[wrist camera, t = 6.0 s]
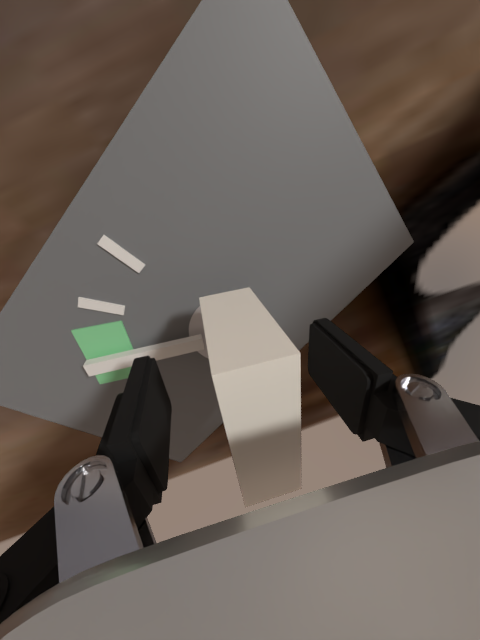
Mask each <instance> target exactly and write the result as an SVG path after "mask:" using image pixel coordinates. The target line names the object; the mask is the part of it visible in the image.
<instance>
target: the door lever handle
mask: <svg viewBox="0 0 480 640" xmlns="http://www.w3.org/2000/svg"><path fill="white" fill-rule="evenodd" d="M199 300H200V307H201V313H202V319H203V325H204V332H205V338H206V344H207V350H208V356H209V363H210V369H211V375H212V379H213V383H214V387H215V391H216V395H217V399H218V403H219V407H220V411H221V414H222V418H223V422H224V426H225V430H226V434H227V438H228V442H229V446H230V450H231V454H232V458H233V461H234V465H235V469H236V473H237V477H238V481H239V485H240V489H241V493H242V497H243V501H244V505H245V507H248V506H251V505H254V504H257V503H260V502H263V501H266V500H269V499H272V498H275V497H278V496H281V495H284V494H287V493H290V492H293V491H296V490H299V489H301V488H302V487H301V355H300V352H299V351H298V349H297V348H296V347H295V345H294V344H293V343H292V342H291V340H290V339H289V338H288V336H287V335H286V334H285V333H284V331H283V330H282V329H281V327H280V326H279V325H278V323H277V322H276V321H275V320H274V318H273V317H272V316H271V314H270V313H269V312H268V311H267V309H266V308H265V307H264V305H263V304H262V303H261V302H260V300H259V299H258V298H257V296H256V295H255V294H254V293H253V291H252V290H251V289H250V287H248V288H243V289H238V290H233V291H228V292H224V293H219V294H214V295H209V296H204V297H199ZM199 350H204V343H203V339H202V335H201V334H199V335H194V336H190V337H186V338H181V339H177V340H172V341H168V342H164V343H159V344H155V345H150V346H146V347H142V348H137V349H133V350H128V351H124V352H120V353H115V354H111V355H106V356H102V357H98V358H93V359H89V360H86V362H85V363H84V365H83V367H84V369H85V371H86V372H87V374H88V376H94V375H98V374H102V373H106V372H111V371H115V370H119V369H123V368H127V367H132V364H133V361H134V359H135V358H139V357H143V356H150V358H155V360H156V361H157V360H161V359H165V358H170V357H174V356H178V355H182V354H187V353H191V352H195V351H199Z"/></svg>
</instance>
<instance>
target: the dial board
mask: <svg viewBox="0 0 480 640" xmlns="http://www.w3.org/2000/svg"><path fill="white" fill-rule="evenodd" d="M413 242H414V241H413V239H412V237H411V235H410V233H409V232H408V230H407V228H406V226H405V224H404V222H403V220H402V218H401V216H400V214H399V212H398V210H397V209H396V207H395V205H394V203H393V201H392V199H391V197H390V195H389V193H388V191H387V189H386V187H385V186H384V184H383V182H382V180H381V178H380V176H379V174H378V172H377V170H376V168H375V166H374V165H373V163H372V161H371V159H370V157H369V155H368V153H367V151H366V149H365V147H364V145H363V143H362V142H361V140H360V138H359V136H358V134H357V132H356V130H355V128H354V126H353V124H352V122H351V121H350V119H349V117H348V115H347V113H346V111H345V109H344V107H343V105H342V103H341V101H340V99H339V98H338V96H337V94H336V92H335V90H334V88H333V86H332V84H331V82H330V80H329V78H328V76H327V75H326V73H325V71H324V69H323V67H322V65H321V63H320V61H319V59H318V57H317V55H316V54H315V52H314V50H313V48H312V46H311V44H310V42H309V40H308V38H307V36H306V34H305V32H304V31H303V29H302V27H301V25H300V23H299V21H298V19H297V17H296V15H295V13H294V11H293V10H292V8H291V6H290V4H289V2H288V0H202V1H201V3H200V4H199V6H198V7H197V9H196V10H195V12H194V13H193V15H192V16H191V18H190V20H189V21H188V23H187V24H186V26H185V27H184V29H183V30H182V32H181V34H180V35H179V37H178V38H177V40H176V41H175V43H174V44H173V46H172V48H171V49H170V51H169V52H168V54H167V55H166V57H165V58H164V60H163V61H162V63H161V65H160V66H159V68H158V69H157V71H156V72H155V74H154V75H153V77H152V79H151V80H150V82H149V83H148V85H147V86H146V88H145V89H144V91H143V92H142V94H141V96H140V97H139V99H138V100H137V102H136V103H135V105H134V106H133V108H132V110H131V111H130V113H129V114H128V116H127V117H126V119H125V120H124V122H123V123H122V125H121V127H120V128H119V130H118V131H117V133H116V134H115V136H114V137H113V139H112V141H111V142H110V144H109V145H108V147H107V148H106V150H105V151H104V153H103V155H102V156H101V158H100V159H99V161H98V162H97V164H96V165H95V167H94V168H93V170H92V172H91V173H90V175H89V176H88V178H87V179H86V181H85V182H84V184H83V186H82V187H81V189H80V190H79V192H78V193H77V195H76V196H75V198H74V199H73V201H72V203H71V204H70V206H69V207H68V209H67V210H66V212H65V213H64V215H63V217H62V218H61V220H60V221H59V223H58V224H57V226H56V227H55V229H54V230H53V232H52V234H51V235H50V237H49V238H48V240H47V241H46V243H45V244H44V246H43V248H42V249H41V251H40V252H39V254H38V255H37V257H36V258H35V260H34V262H33V263H32V265H31V266H30V268H29V269H28V271H27V272H26V274H25V275H24V277H23V279H22V280H21V282H20V283H19V285H18V286H17V288H16V289H15V291H14V293H13V294H12V296H11V297H10V299H9V300H8V302H7V303H6V305H5V306H4V308H3V310H2V311H1V313H0V405H1V406H4V407H7V408H10V409H13V410H16V411H20V412H23V413H26V414H29V415H32V416H35V417H39V418H42V419H45V420H48V421H51V422H54V423H58V424H61V425H64V426H67V427H70V428H73V429H77V430H80V431H83V432H86V433H89V434H92V435H96V436H99V437H102V436H103V433H104V431H105V428H106V425H107V422H108V419H109V416H110V413H111V410H112V408H113V405H114V402H115V399H116V397H117V395H118V394H119V393H123V392H124V389H125V386H126V383H127V379H128V376H129V373H130V370H131V367H127V368H123V369H119V370H115V371H111V372H106V373H102V374H98V375H94V376H88V374H87V372H86V371H85V369H84V367H83V365H84V363H85V362H86V360H89V359H93V358H98V357H102V356H106V355H111V354H115V353H120V352H124V351H128V350H133V349H137V348H142V347H146V346H150V345H155V344H159V343H164V342H168V341H172V340H177V339H181V338H186V337H190V336H194V335H199V334H201V335H202V339H203V343H204V350H199V351H195V352H191V353H187V354H182V355H178V356H174V357H170V358H165V359H161V360H157V361H156V362H157V365H158V368H159V371H160V373H161V376H162V379H163V382H164V384H165V387H166V390H167V393H168V396H169V398H170V401H171V406H172V414H171V431H170V448H169V459H172V460H175V461H178V462H182V461H183V460H184V459H185V458H186V457H187V456H188V455H189V454H190V453H191V452H192V451H194V450H195V449H196V448H197V447H198V446H199V445H200V444H201V443H202V442H203V441H204V440H205V439H206V438H207V437H208V436H209V435H210V434H212V433H213V432H214V431H215V430H216V429H217V428H218V427H219V426H220V425H221V424H222V423H223V418H222V414H221V411H220V407H219V403H218V399H217V395H216V391H215V387H214V383H213V379H212V375H211V369H210V363H209V356H208V350H207V344H206V338H205V332H204V325H203V319H202V313H201V307H200V300H199V297H204V296H209V295H214V294H219V293H224V292H228V291H233V290H238V289H243V288H248V287H250V289H251V290H252V291H253V293H254V294H255V295H256V296H257V298H258V299H259V300H260V302H261V303H262V304H263V305H264V307H265V308H266V309H267V311H268V312H269V313H270V314H271V316H272V317H273V318H274V320H275V321H276V322H277V323H278V325H279V326H280V327H281V329H282V330H283V331H284V333H285V334H286V335H287V336H288V338H289V339H290V340H291V342H292V343H293V344H294V345H295V347H296V348H297V349H298V351H299V350H300V349H301V348H302V347H303V346H305V345H306V344H307V343H308V342H309V327H310V324H312V323H313V321H314V320H317V319H322V318H327V319H329V320H330V321H331V320H332V319H333V318H334V317H335V316H336V315H337V314H338V313H339V312H340V311H342V310H343V309H344V308H345V307H346V306H347V305H348V304H349V303H350V302H351V301H352V300H353V299H354V298H355V297H356V296H357V295H358V294H359V293H361V292H362V291H363V290H364V289H365V288H366V287H367V286H368V285H369V284H370V283H371V282H372V281H373V280H374V279H375V278H376V277H377V276H379V275H380V274H381V273H382V272H383V271H384V270H385V269H386V268H387V267H388V266H389V265H390V264H391V263H392V262H393V261H394V260H395V259H396V258H398V257H399V256H400V255H401V254H402V253H403V252H404V251H405V250H406V249H407V248H408V247H409V246H410V245H411V244H412V243H413Z"/></svg>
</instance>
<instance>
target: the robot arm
mask: <svg viewBox="0 0 480 640" xmlns="http://www.w3.org/2000/svg"><path fill="white" fill-rule="evenodd" d="M308 371H309V374H310V376H311V377H312V378H313V380H314V381H315V383H316V384H317V385H318V387H319V388H320V389H321V391H322V392H323V394H324V395H325V396H326V398H327V399H328V400H329V402H330V403H331V404H332V406H333V407H334V409H335V410H336V411H337V413H338V414H339V415H340V417H341V418H342V419H343V421H344V422H345V424H346V425H347V426H348V428H349V429H350V430H351V432H353V434H357V435H358V436H359V437H360V439H361V440H362V441H366V440H370V439H373V438H375V439H376V440H377V441H378V442H380V446H381V450H382V453H383V457H384V461H385V464H386V468H385V469H382V470H379V471H376V472H373V473H369V474H366V475H363V476H360V477H357V478H354V479H351V480H348V481H345V482H341V483H338V484H335V485H332V486H329V487H326V488H323V489H320V490H317V491H314V492H310V493H307V494H304V495H301V496H298V497H295V498H292V499H289V500H286V501H283V502H280V503H277V504H273V505H270V506H267V507H264V508H261V509H258V510H255V511H252V512H249V513H246V514H243V515H240V516H237V517H234V518H231V519H228V520H225V521H222V522H219V523H216V524H213V525H210V526H207V527H204V528H201V529H198V530H195V531H192V532H188V533H186V534H182V535H179V536H176V537H173V538H171V539H168V540H165V541H162V542H159V543H156V541H155V538H154V535H153V532H152V530H151V527H150V524H149V522H148V519H147V516H148V515H149V514H150V512H151V511H152V505H154V504H158V503H161V499H162V491H165V490H166V489H167V482H168V466H169V448H170V431H171V414H172V406H171V401H170V398H169V396H168V393H167V390H166V387H165V384H164V382H163V379H162V376H161V373H160V371H159V368H158V365H157V362H156V360H155V358H150V356H143V357H139V358H135V359H134V361H133V364H132V367H131V370H130V373H129V376H128V379H127V383H126V386H125V389H124V392H123V393H119V394H118V395H117V397H116V399H115V402H114V405H113V408H112V410H111V413H110V416H109V419H108V422H107V425H106V428H105V431H104V433H103V436H102V439H101V442H100V445H99V448H98V451H97V454H96V456H93V457H89V458H87V459H85V460H83V461H81V462H80V463H79V464H77V465H76V466H75V467H73V468H72V469H71V470H70V471H69V472H68V473H67V474H66V475H65V477H64V478H63V479H62V481H61V482H60V484H59V486H58V488H57V490H56V492H55V498H54V507H53V508H52V509H51V510H50V511H49V512H48V513H46V514H45V515H44V516H43V517H42V518H41V519H40V520H39V521H38V522H37V523H36V524H35V525H34V526H32V527H31V528H30V529H29V530H28V531H27V532H26V533H25V534H24V535H23V536H22V537H21V538H20V539H18V541H16V542H15V543H14V544H13V545H12V546H11V547H10V548H9V549H8V550H7V551H6V552H4V553H3V554H2V555H1V556H0V640H480V406H479V405H475V404H471V403H468V402H464V401H460V400H456V399H453V398H450V397H449V395H448V394H447V392H446V391H445V390H444V388H443V387H442V386H441V385H439V384H438V383H437V382H435V381H433V380H431V379H429V378H427V377H424V376H421V375H416V374H404V375H400V376H399V377H396V376H395V375H394V374H392V373H393V371H392V370H391V369H390V368H388V367H387V366H386V365H385V364H383V363H382V362H381V361H380V360H378V359H377V358H376V357H375V356H373V355H372V354H371V353H370V352H368V351H367V350H366V349H365V348H363V347H362V346H361V345H360V344H358V343H357V342H356V341H355V340H354V339H352V338H351V337H350V336H349V335H347V334H346V333H345V332H344V331H342V330H341V329H340V328H339V327H337V326H336V325H335V324H334V323H332V322H331V321H330V320H329V319H327V318H322V319H317V320H314V321H313V323H312V324H310V327H309V352H308Z"/></svg>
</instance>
